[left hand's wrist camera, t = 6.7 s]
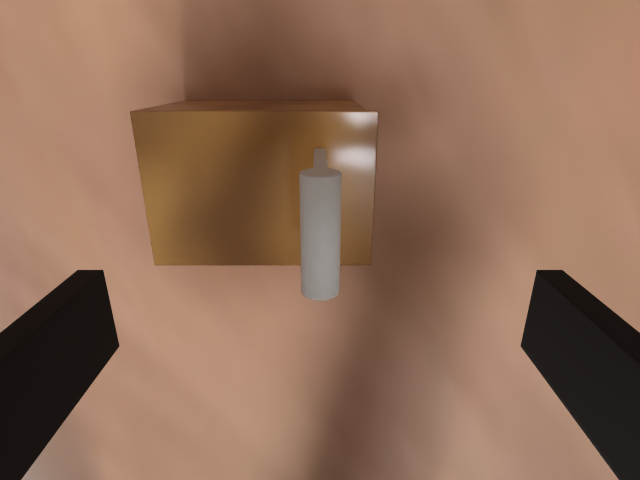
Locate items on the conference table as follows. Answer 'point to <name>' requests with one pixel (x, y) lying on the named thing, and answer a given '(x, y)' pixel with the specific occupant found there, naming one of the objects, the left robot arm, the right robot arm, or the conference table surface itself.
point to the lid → (260, 189)
